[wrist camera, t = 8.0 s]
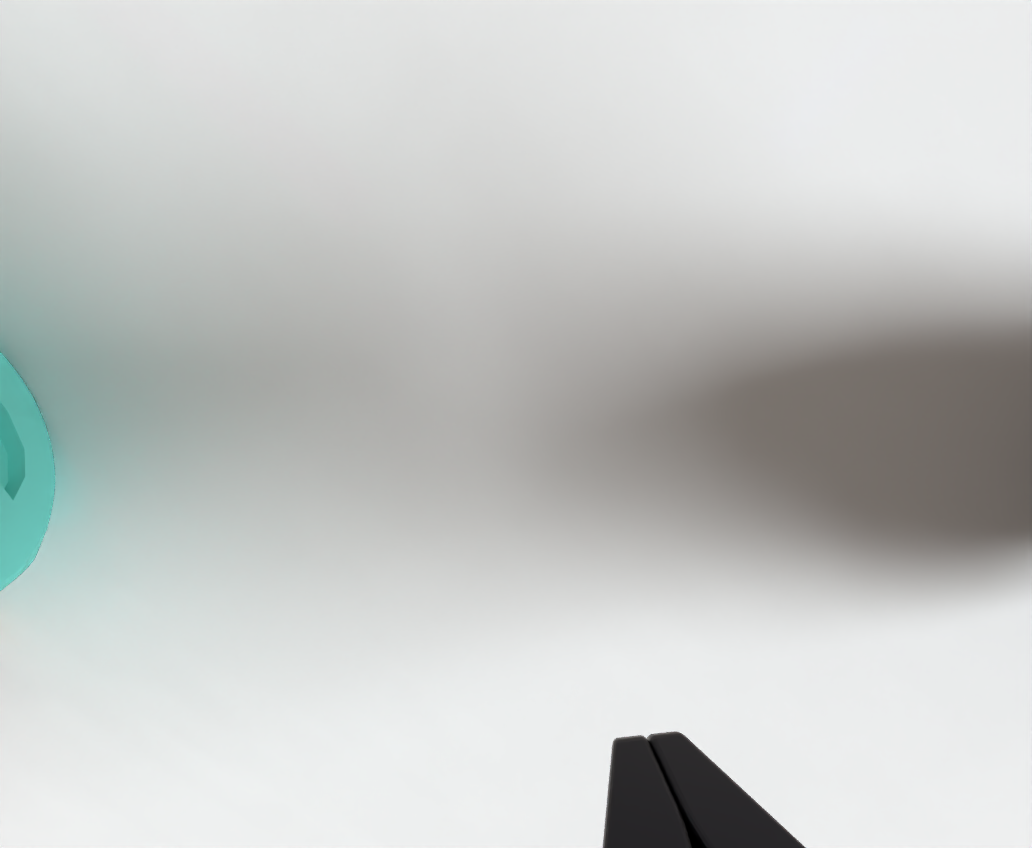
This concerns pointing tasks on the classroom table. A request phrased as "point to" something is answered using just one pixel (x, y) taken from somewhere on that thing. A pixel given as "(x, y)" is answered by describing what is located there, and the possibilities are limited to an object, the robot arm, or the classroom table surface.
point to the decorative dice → (22, 475)
